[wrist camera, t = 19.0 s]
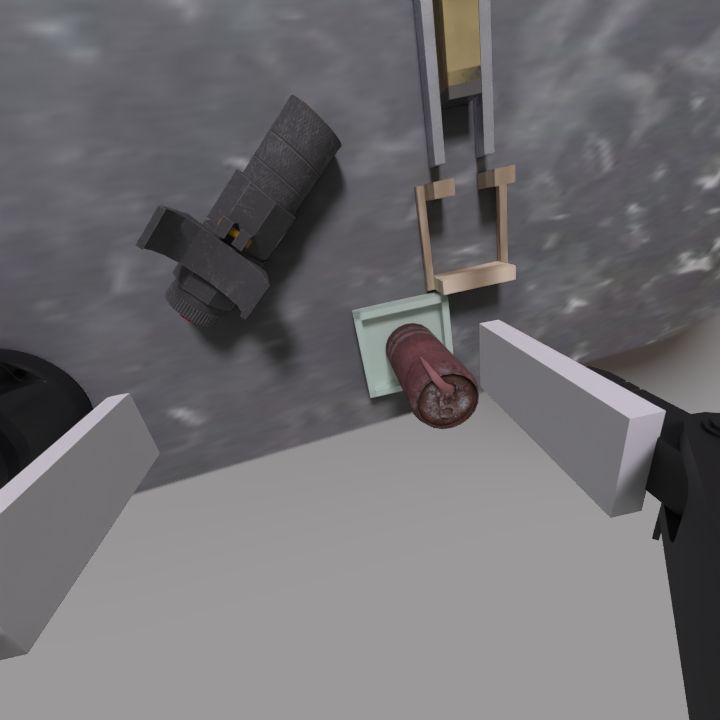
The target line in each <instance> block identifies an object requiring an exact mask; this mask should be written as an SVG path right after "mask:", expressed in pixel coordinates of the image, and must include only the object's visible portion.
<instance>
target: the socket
mask: <svg viewBox="0 0 720 720" xmlns="http://www.w3.org/2000/svg"><path fill="white" fill-rule="evenodd" d="M513 182H515V165H511V166H506V167H502V168H497V169H493V170H489V171H486V172H483V173H479V174H477V187H478V190H479V189H484V188H489V187H495V186H496V219H497V254H498V261H496V262H491V263H486V264H482V265H477V266H473V267H468V268H464V269H459V270H455V271H450V272H445V273H441V274H436V275H433V266H432V257H431V248H430V238H429V229H428V219H427V210H426V201H428V200H434V199H439V198H444V197H448V196H453V195H455V187H454V178H450V179H446V180H441V181H436V182H432V183H429V184H426V185H423V186H418V187H415V196H416V205H417V214H418V222H419V231H420V240H421V248H422V257H423V265H424V274H425V283H426V290H428V291H430V290H437V291H438V292H440V293H441V294H443V295H447V294H452V293H456V292H461V291H465V290H470V289H474V288H479V287H483V286H488V285H492V284H497V283H501V282H506V281H511V280H515V279H516V265H512V264H508V246H507V185H506V184H509V183H513Z"/></svg>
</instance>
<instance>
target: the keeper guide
mask: <svg viewBox="0 0 720 720" xmlns="http://www.w3.org/2000/svg"><path fill="white" fill-rule="evenodd" d="M413 5H414V15H415V25H416V35H417V46H418V56H419V66H420V76H421V86H422V97H423V107H424V117H425V127H426V138H427V148H428V158H429V168H432V167H437V166H440V165H442V164H444V163H445V153H444V141H443V129H442V116H441V104H440V91H439V79H438V67H437V54H436V42H435V29H434V17H433V4H432V0H413ZM478 8H479V34H480V60H481V85H482V93H481V94H480V95H478V96H477V97H476V98H475V99H473V104H474V125H475V146H476V158H479V157H483V156H487V155H490V154H492V153H494V120H493V85H492V50H491V14H490V0H478Z"/></svg>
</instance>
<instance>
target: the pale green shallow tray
mask: <svg viewBox="0 0 720 720" xmlns="http://www.w3.org/2000/svg"><path fill="white" fill-rule="evenodd" d="M352 315H353V319H354V324H355V329H356V334H357V338H358V343H359V348H360V352H361V357H362V362H363V367H364V371H365V376H366V381H367V385H368V390H369V394H370V397H371V398H373V397H378V396H382V395H386V394H391V393H395V392H400V391H403V390H402V387H401V385H400V383H399V381H398V379H397V377H396V375H395V373H394V370H393V368H392V366H391V364H390V362H389V360H388V357H387V355H386V343H387V340H388V338H389V336H390V335H391V333H392V332H393V331H394V330H396V329H397V328H398V327H400V326H402V325H404V324H409V323H416V324H421V325H423V326H425V327H426V328H428V329H429V330H430V331H431V332H432V333H433V334H434V335H435V336H436V337H437V338H438V339H439V341H440V342H441V343H442V344H443V345H444V346H445V347H446V348H447V349H448V350H449V351H450V352H451V353H452V354H453V347H452V336H451V325H450V314H449V303H448V294H447V295H443V294H441V293H440V292H438V291H437V292H432V293H428V294H423V295H419V296H414V297H409V298H405V299H400V300H396V301H391V302H387V303H382V304H378V305H373V306H369V307H364V308H360V309H355V310H352Z"/></svg>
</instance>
